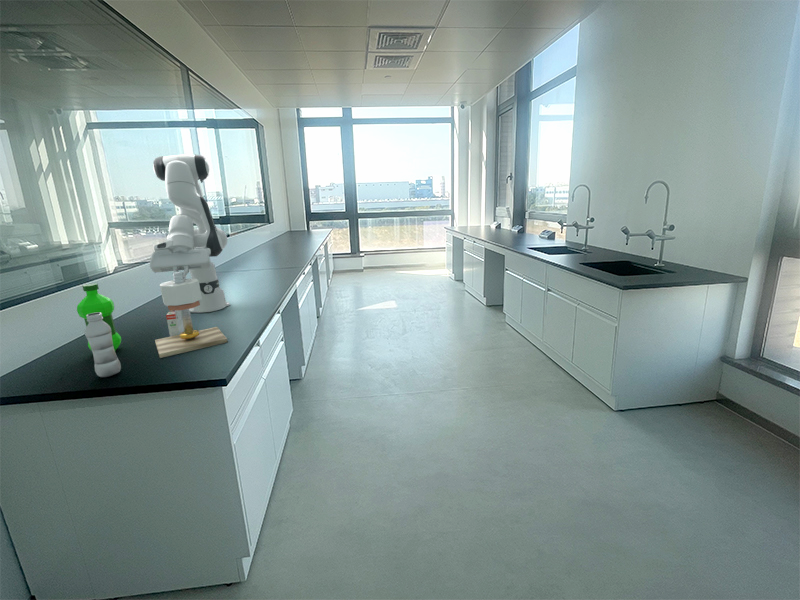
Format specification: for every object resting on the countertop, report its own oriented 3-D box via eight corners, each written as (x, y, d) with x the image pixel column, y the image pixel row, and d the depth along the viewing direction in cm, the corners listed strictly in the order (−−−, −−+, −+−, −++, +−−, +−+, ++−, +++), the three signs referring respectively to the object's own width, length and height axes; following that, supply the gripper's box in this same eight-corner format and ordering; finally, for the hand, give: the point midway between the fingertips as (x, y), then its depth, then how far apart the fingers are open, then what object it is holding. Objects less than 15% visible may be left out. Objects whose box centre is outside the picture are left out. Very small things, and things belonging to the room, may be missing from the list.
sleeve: (162, 301, 145) (158, 282, 143) (198, 295, 151) (194, 277, 150) (165, 307, 135) (161, 287, 133) (203, 300, 142) (200, 282, 140)
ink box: (170, 338, 153) (162, 303, 149) (174, 332, 161) (167, 298, 157) (180, 337, 154) (173, 301, 150) (184, 331, 162) (177, 297, 158)
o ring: (167, 306, 145) (166, 302, 145) (196, 301, 151) (196, 297, 150) (170, 312, 137) (169, 307, 137) (201, 306, 143) (200, 302, 142)
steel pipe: (179, 338, 148) (166, 272, 141) (198, 334, 152) (186, 270, 145) (182, 343, 143) (168, 275, 136) (201, 339, 146) (188, 272, 140)
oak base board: (155, 343, 149) (154, 339, 148) (217, 330, 161) (217, 326, 160) (159, 358, 134) (159, 353, 134) (227, 342, 146) (226, 338, 146)
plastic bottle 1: (82, 357, 139) (63, 288, 132) (107, 346, 149) (91, 281, 142) (107, 357, 137) (89, 288, 131) (131, 346, 147) (115, 281, 141)
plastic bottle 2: (127, 370, 126) (112, 310, 120) (110, 379, 119) (94, 317, 114) (109, 370, 126) (93, 311, 121) (91, 379, 120) (74, 317, 115)
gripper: (212, 251, 158) (213, 279, 151) (154, 256, 152) (153, 285, 145) (208, 241, 152) (209, 270, 146) (149, 245, 146) (147, 276, 140)
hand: (181, 278), depth 145 cm, fingers closed
